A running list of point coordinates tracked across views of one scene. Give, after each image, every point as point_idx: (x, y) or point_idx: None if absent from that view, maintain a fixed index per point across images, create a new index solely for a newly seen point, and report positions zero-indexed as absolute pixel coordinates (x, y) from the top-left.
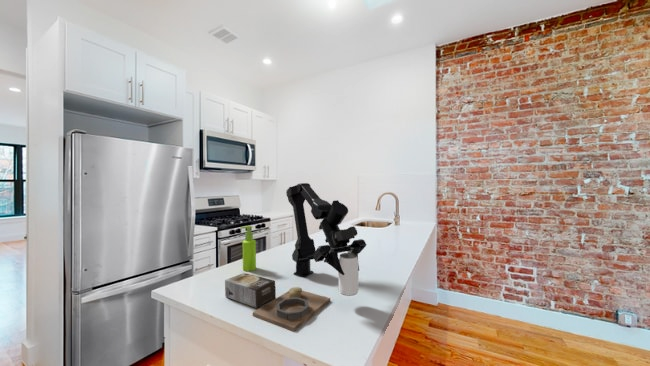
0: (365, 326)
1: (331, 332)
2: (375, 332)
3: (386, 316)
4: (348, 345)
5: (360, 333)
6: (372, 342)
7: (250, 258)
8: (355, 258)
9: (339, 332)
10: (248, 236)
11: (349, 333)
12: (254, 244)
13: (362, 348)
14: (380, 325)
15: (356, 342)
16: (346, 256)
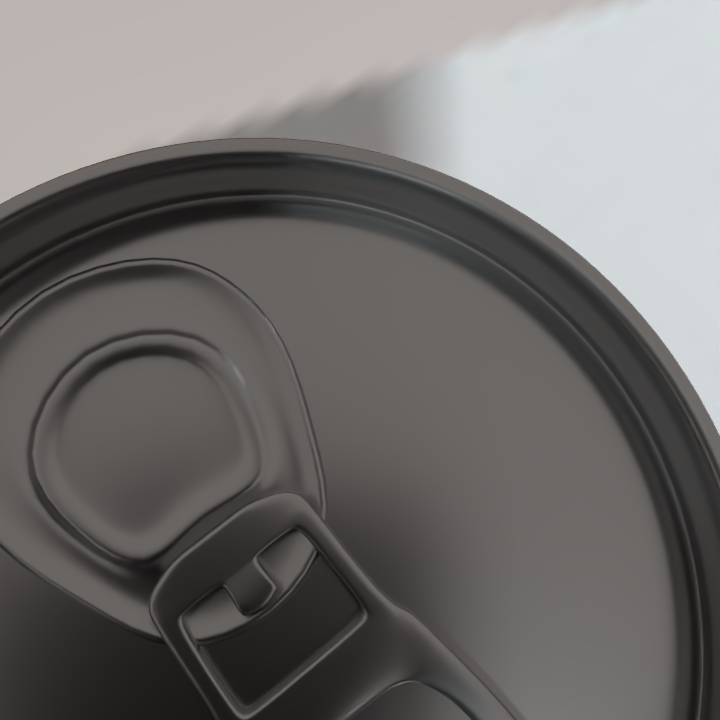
0: (445, 173)
1: (716, 303)
2: (447, 76)
3: (181, 141)
4: (709, 116)
5: (545, 144)
6: (554, 27)
7: None
8: (214, 178)
9: (666, 260)
10: None
11: (612, 199)
12: None
13: (654, 36)
14: (340, 101)
15: (643, 99)
16: (401, 642)
